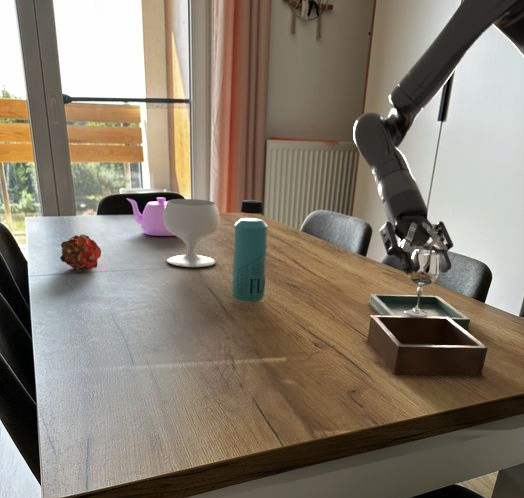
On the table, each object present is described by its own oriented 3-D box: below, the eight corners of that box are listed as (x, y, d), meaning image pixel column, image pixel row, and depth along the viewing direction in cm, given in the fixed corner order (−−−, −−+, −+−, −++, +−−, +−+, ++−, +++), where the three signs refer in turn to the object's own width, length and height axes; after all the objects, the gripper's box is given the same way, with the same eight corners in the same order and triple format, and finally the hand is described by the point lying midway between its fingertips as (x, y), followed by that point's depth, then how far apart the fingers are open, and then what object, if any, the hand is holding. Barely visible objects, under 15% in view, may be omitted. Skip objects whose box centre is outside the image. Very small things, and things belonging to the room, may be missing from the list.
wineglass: (398, 314, 100) (409, 253, 95) (402, 306, 105) (412, 247, 100) (429, 319, 98) (441, 257, 93) (432, 311, 103) (443, 251, 98)
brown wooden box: (443, 341, 89) (448, 316, 87) (481, 375, 77) (488, 347, 75) (367, 340, 88) (370, 315, 86) (393, 374, 75) (398, 346, 73)
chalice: (164, 269, 123) (163, 205, 117) (162, 256, 136) (161, 197, 130) (222, 269, 126) (224, 207, 120) (215, 256, 139) (216, 199, 133)
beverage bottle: (248, 311, 98) (253, 203, 90) (224, 303, 102) (227, 198, 94) (270, 305, 102) (277, 201, 95) (246, 297, 106) (251, 197, 99)
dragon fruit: (74, 282, 114) (83, 276, 126) (105, 260, 114) (112, 256, 125) (48, 250, 112) (60, 247, 123) (80, 228, 111) (89, 226, 123)
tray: (436, 305, 109) (438, 295, 108) (468, 330, 95) (470, 319, 95) (369, 303, 107) (370, 294, 106) (392, 328, 94) (394, 317, 93)
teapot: (128, 228, 169) (127, 193, 164) (190, 230, 172) (190, 196, 168) (126, 236, 157) (124, 199, 152) (192, 238, 160) (192, 201, 156)
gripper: (381, 187, 96) (409, 262, 91) (441, 188, 101) (471, 259, 96) (362, 211, 102) (387, 283, 97) (419, 211, 108) (446, 279, 102)
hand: (429, 271), depth 96 cm, fingers open, 8 cm apart
